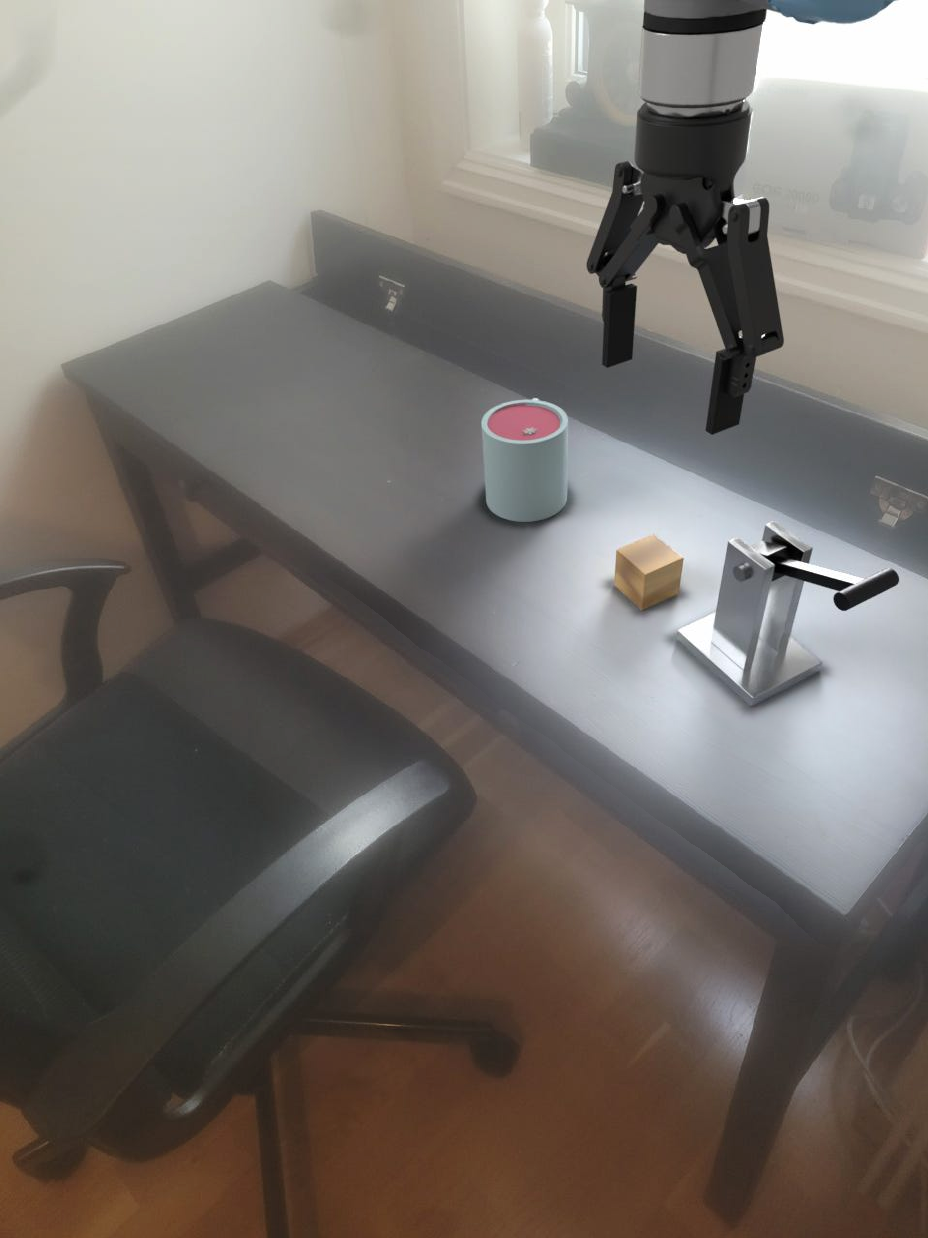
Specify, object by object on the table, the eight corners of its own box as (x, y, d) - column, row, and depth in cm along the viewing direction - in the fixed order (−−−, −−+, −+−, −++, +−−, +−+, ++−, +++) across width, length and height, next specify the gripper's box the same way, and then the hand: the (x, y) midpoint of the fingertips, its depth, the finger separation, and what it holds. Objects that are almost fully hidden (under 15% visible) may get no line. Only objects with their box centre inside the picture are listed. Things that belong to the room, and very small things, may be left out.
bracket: (820, 671, 77) (854, 559, 68) (750, 707, 74) (777, 596, 66) (742, 607, 83) (764, 498, 75) (676, 639, 81) (690, 529, 72)
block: (679, 593, 86) (684, 557, 82) (641, 611, 84) (645, 574, 81) (650, 569, 89) (653, 533, 85) (613, 585, 87) (615, 549, 84)
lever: (900, 594, 63) (898, 564, 62) (850, 619, 62) (848, 589, 61) (778, 560, 74) (775, 534, 73) (733, 581, 72) (729, 555, 71)
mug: (560, 524, 95) (561, 446, 88) (478, 518, 97) (473, 440, 90) (576, 457, 105) (578, 381, 98) (501, 452, 107) (498, 378, 100)
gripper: (888, 125, 50) (813, 444, 64) (627, 63, 67) (613, 328, 81) (790, 152, 48) (735, 476, 62) (544, 81, 64) (546, 350, 79)
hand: (666, 393), depth 72 cm, fingers open, 13 cm apart
